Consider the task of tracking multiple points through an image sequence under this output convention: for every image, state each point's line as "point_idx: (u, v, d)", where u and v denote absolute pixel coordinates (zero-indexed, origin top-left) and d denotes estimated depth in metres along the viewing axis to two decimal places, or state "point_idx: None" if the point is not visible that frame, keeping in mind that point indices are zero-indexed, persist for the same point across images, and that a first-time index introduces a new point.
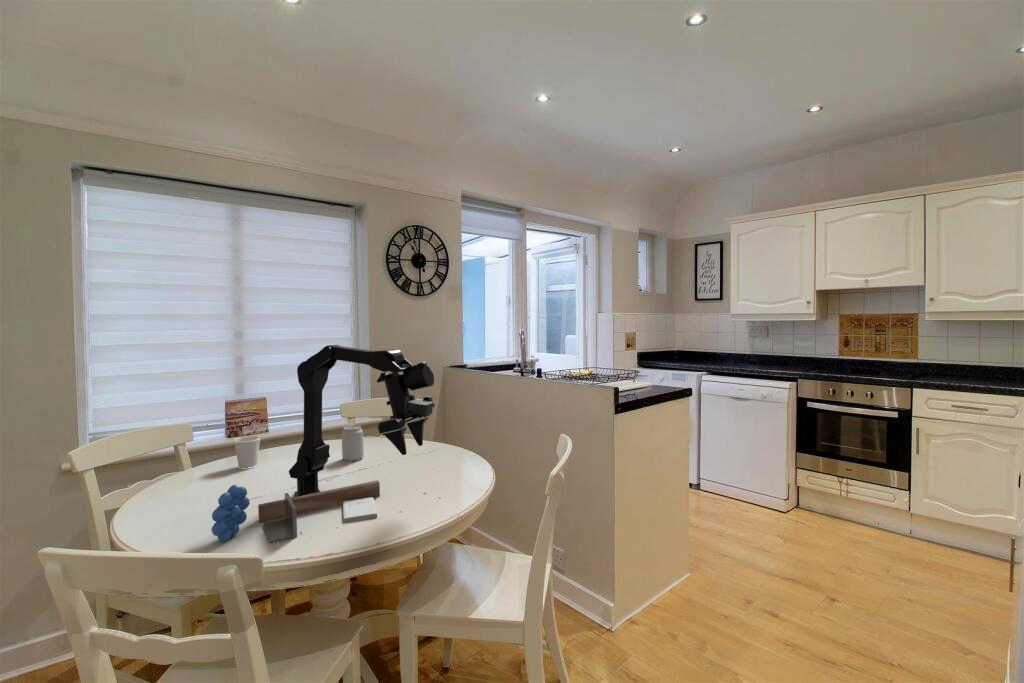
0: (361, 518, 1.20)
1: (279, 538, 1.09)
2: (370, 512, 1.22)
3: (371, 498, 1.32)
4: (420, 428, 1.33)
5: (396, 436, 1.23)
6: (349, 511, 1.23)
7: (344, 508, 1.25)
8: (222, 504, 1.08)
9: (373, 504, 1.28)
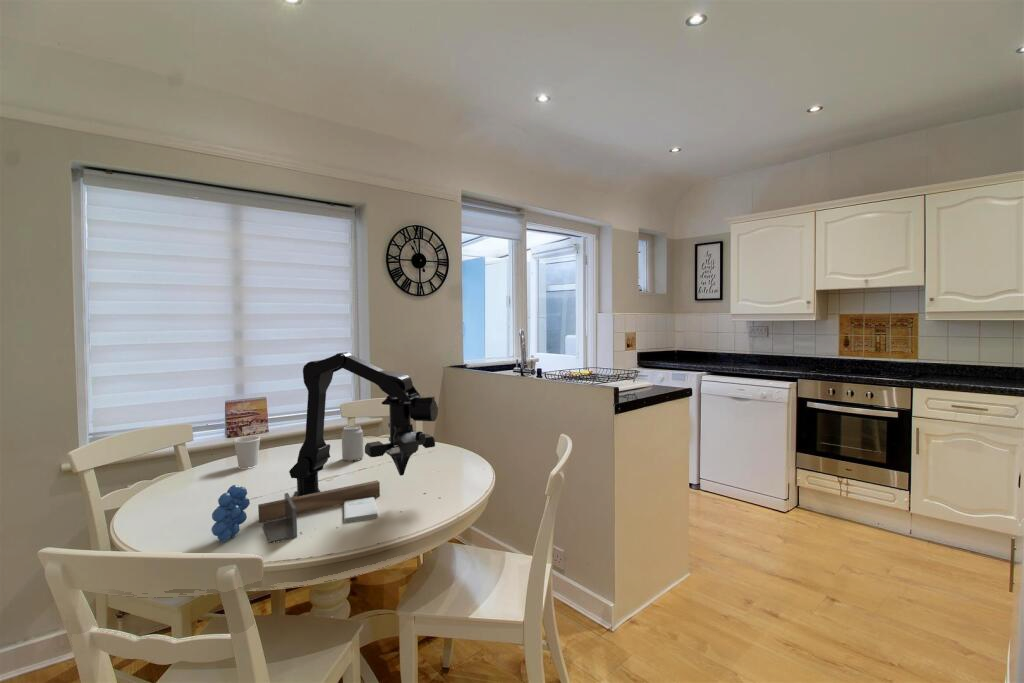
0: (361, 518, 1.20)
1: (279, 538, 1.09)
2: (371, 512, 1.22)
3: (372, 498, 1.32)
4: (404, 459, 1.32)
5: None
6: (350, 512, 1.23)
7: (345, 508, 1.25)
8: (222, 504, 1.08)
9: (374, 504, 1.28)
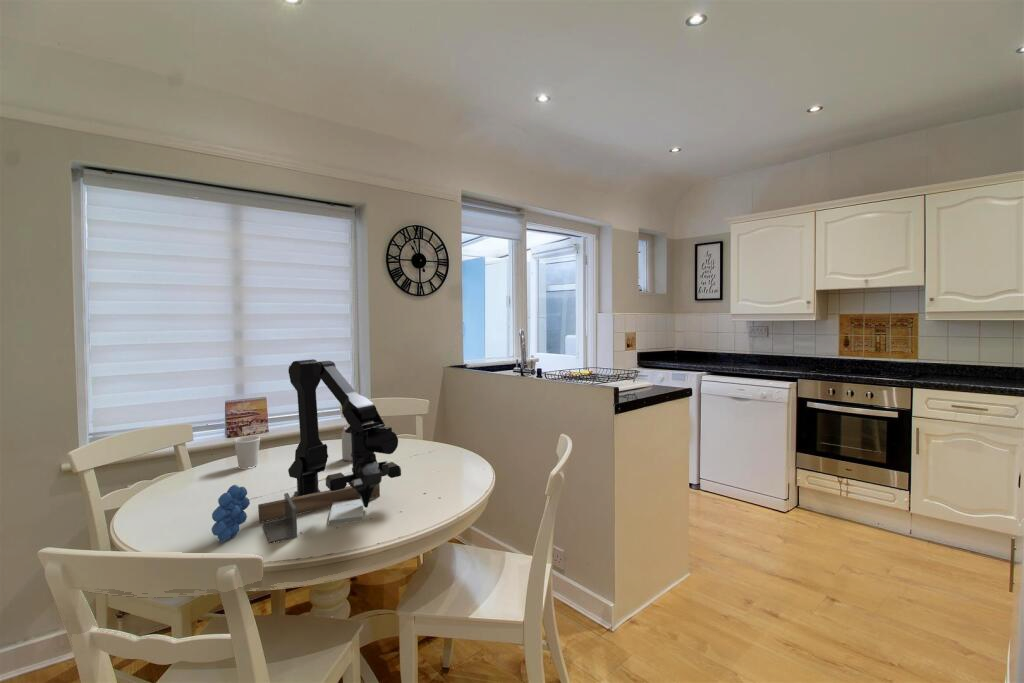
0: (346, 520, 1.19)
1: (279, 538, 1.09)
2: (356, 514, 1.21)
3: None
4: (367, 490, 1.26)
5: None
6: (335, 513, 1.21)
7: (331, 509, 1.24)
8: (222, 504, 1.08)
9: (361, 506, 1.26)
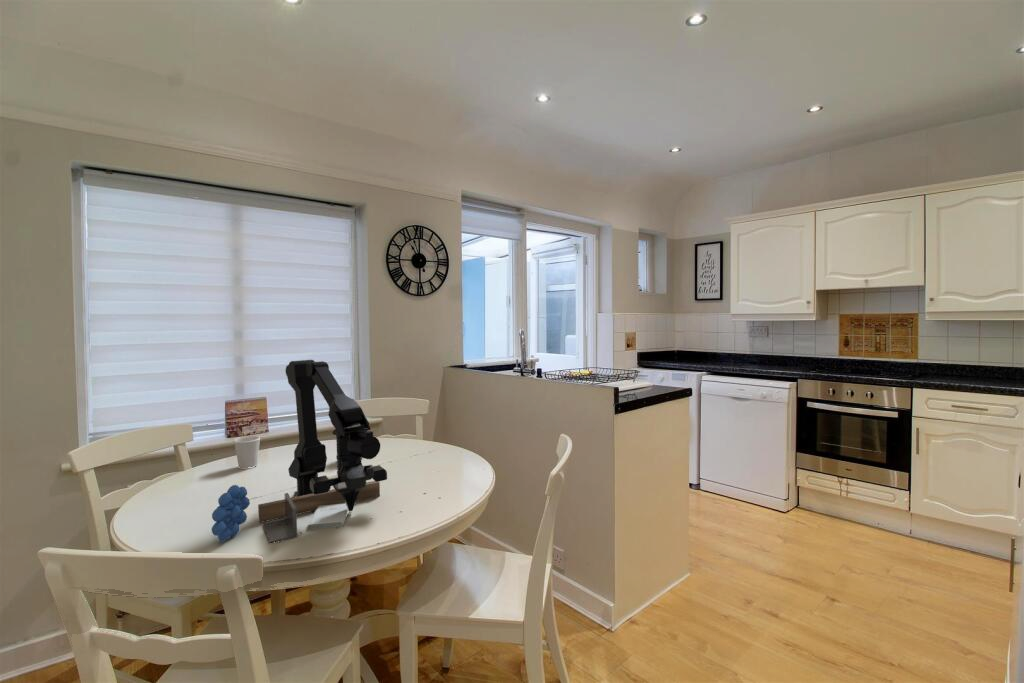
0: (325, 526, 1.16)
1: (279, 538, 1.09)
2: (336, 520, 1.18)
3: None
4: (352, 494, 1.24)
5: None
6: (317, 518, 1.19)
7: (314, 513, 1.22)
8: (222, 504, 1.08)
9: (344, 511, 1.23)
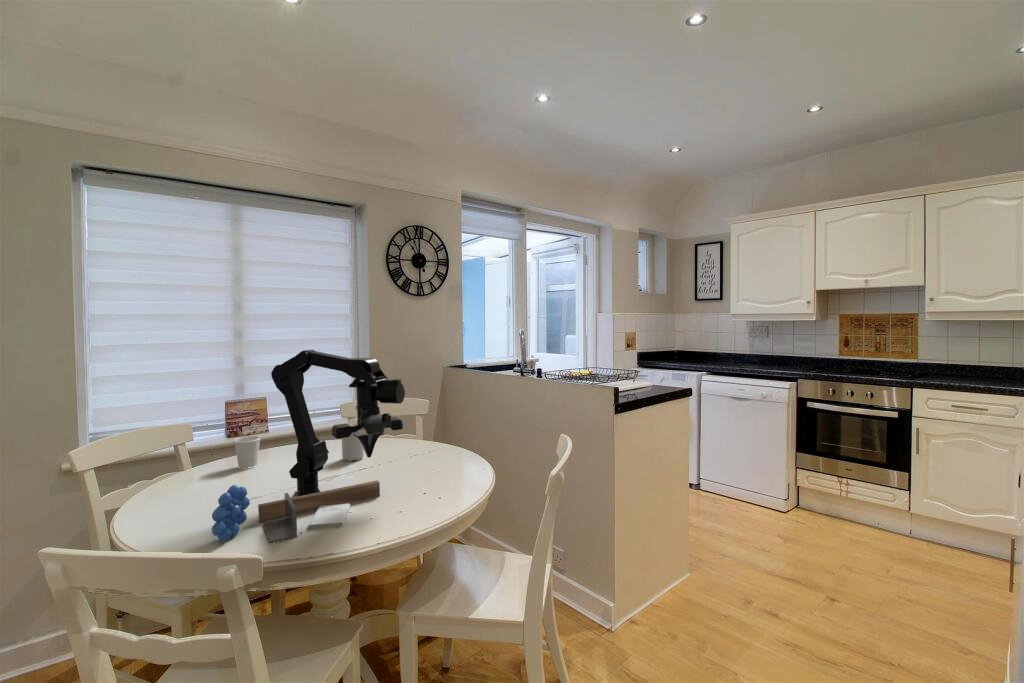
0: (326, 526, 1.16)
1: (279, 538, 1.09)
2: (336, 520, 1.18)
3: (347, 504, 1.28)
4: (371, 441, 1.33)
5: None
6: (317, 518, 1.19)
7: (315, 514, 1.22)
8: (222, 504, 1.08)
9: (345, 511, 1.23)
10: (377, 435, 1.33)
